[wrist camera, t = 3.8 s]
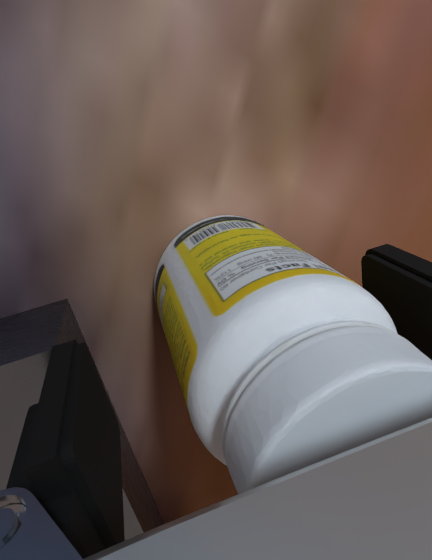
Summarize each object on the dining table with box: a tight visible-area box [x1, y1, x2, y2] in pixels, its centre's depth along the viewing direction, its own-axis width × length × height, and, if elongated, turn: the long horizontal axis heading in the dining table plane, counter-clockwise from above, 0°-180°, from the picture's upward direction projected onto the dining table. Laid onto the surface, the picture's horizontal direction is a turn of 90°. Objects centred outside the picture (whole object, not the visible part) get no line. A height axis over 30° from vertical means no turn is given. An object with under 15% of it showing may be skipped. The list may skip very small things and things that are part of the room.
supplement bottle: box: [154, 215, 432, 494], centre depth 10 cm, size 5×5×8 cm
